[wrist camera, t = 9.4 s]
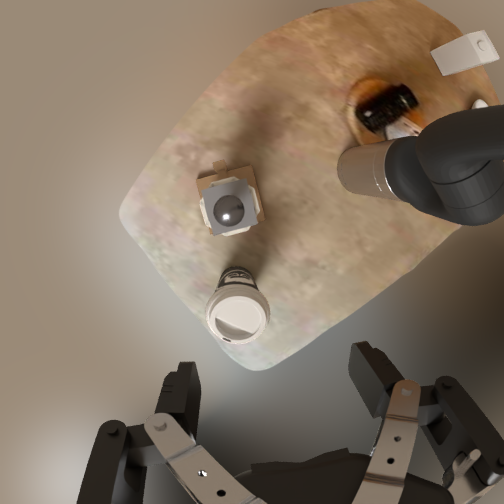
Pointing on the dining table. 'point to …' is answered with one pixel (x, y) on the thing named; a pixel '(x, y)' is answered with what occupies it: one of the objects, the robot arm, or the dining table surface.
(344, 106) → the dining table surface
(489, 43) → the milk carton
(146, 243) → the dining table surface
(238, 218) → the plunger
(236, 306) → the coffee cup
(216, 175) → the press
